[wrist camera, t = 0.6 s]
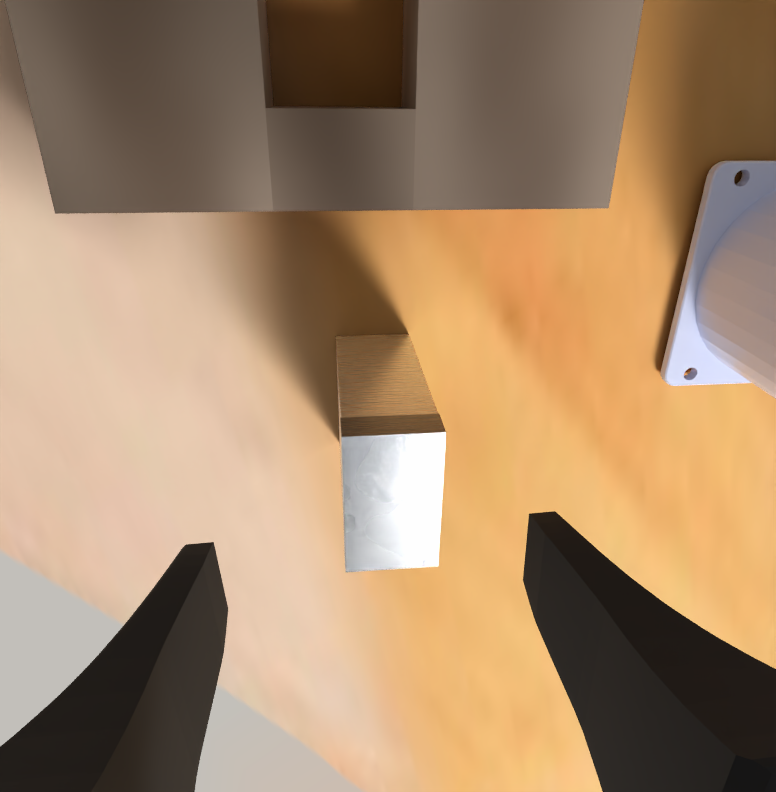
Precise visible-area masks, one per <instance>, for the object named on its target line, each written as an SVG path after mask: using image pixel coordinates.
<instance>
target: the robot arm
mask: <svg viewBox="0 0 776 792" xmlns="http://www.w3.org/2000/svg"><path fill="white" fill-rule="evenodd" d="M740 170H741V171H742V178H741V180H740V181H739V182H738V183H737V184H735V183H734V178H735V176H736V174H737V173H738V172H739V171H740ZM689 368H692V369H691V371H690V373H689V374H687V375H685V376H684V373H685V371H686V370H687V369H689ZM661 377H662V379H663V380H664V381H665V382H666V383H668V384H669V385H672V386H683V385H708V384H734V383H753V384H755V385H756V386H758V387H759V388H761V389H762V390H764V391H765V392H767V393H768V394H770V395H771V396H773V397H774V398H776V161H721V162H718V163H717V164H715V165H714V166H713V167H712V168H711V169H710V170H709V173H708V175H707V178H706V182H705V186H704V191H703V195H702V199H701V203H700V207H699V212H698V216H697V220H696V224H695V229H694V233H693V237H692V241H691V245H690V250H689V254H688V258H687V262H686V267H685V271H684V275H683V279H682V283H681V288H680V292H679V296H678V300H677V305H676V309H675V313H674V317H673V321H672V326H671V330H670V334H669V338H668V343H667V347H666V351H665V355H664V359H663V364H662V368H661ZM523 582H524V585H525V589H526V592H527V595H528V599H529V602H530V606H531V609H532V612H533V615H534V618H535V621H536V624H537V626H538V629H539V631H540V633H541V636H542V638H543V640H544V642H545V645H546V647H547V649H548V652H549V654H550V656H551V658H552V661H553V663H554V665H555V667H556V670H557V672H558V674H559V676H560V679H561V681H562V683H563V685H564V688H565V690H566V692H567V694H568V697H569V699H570V701H571V704H572V706H573V708H574V710H575V713H576V715H577V718H578V720H579V723H580V725H581V728H582V730H583V733H584V736H585V739H586V742H587V745H588V748H589V751H590V754H591V757H592V760H593V763H594V766H595V769H596V772H597V775H598V778H599V781H600V784H601V788H602V791H603V792H776V669H774V668H772V667H770V666H769V665H767V664H765V663H763V662H761V661H759V660H757V659H755V658H753V657H751V656H749V655H748V654H746V653H744V652H742V651H741V650H739V649H737V648H735V647H733V646H732V645H730V644H728V643H726V642H725V641H723V640H721V639H719V638H718V637H716V636H714V635H713V634H711V633H709V632H708V631H706V630H704V629H703V628H701V627H700V626H698V625H697V624H695V623H694V622H692V621H690V620H689V619H687V618H686V617H684V616H683V615H681V614H680V613H678V612H677V611H675V610H674V609H672V608H671V607H669V606H668V605H667V604H665V603H664V602H662V601H661V600H660V599H658V598H657V597H656V596H654V595H653V594H652V593H650V592H649V591H648V590H646V589H645V588H644V587H642V586H641V585H640V584H638V583H637V582H636V581H634V580H633V579H632V578H631V577H629V576H628V575H627V574H626V573H624V572H623V571H622V570H621V569H620V568H618V567H617V566H616V565H615V564H614V563H612V562H611V561H610V560H609V559H608V558H607V557H605V556H604V555H603V554H602V553H601V552H600V551H598V550H597V549H596V548H595V547H594V546H593V545H592V544H591V543H590V542H588V541H587V540H586V539H585V538H584V537H583V536H582V535H581V534H579V533H578V532H577V531H576V530H575V529H574V528H573V527H572V526H571V525H570V524H568V523H567V522H566V521H565V520H564V519H563V518H562V517H561V516H560V515H558V514H557V513H556V512H543V513H532V514H529V522H528V533H527V543H526V554H525V565H524V576H523ZM227 615H228V606H227V602H226V597H225V593H224V588H223V583H222V579H221V574H220V570H219V565H218V560H217V556H216V551H215V547H214V542H211V543H200V544H188V545H185V546H184V547H183V548H182V549H181V551H180V552H179V554H178V555H177V556H176V558H175V559H174V561H173V562H172V563H171V565H170V566H169V568H168V569H167V570H166V572H165V573H164V574H163V576H162V577H161V579H160V580H159V581H158V583H157V584H156V585H155V587H154V588H153V589H152V591H151V592H150V593H149V595H148V596H147V597H146V598H145V600H144V601H143V602H142V603H141V605H140V606H139V607H138V609H137V610H136V611H135V612H134V614H133V615H132V616H131V617H130V619H129V620H128V621H127V622H126V624H125V625H124V626H123V627H122V628H121V630H120V631H119V632H118V633H117V634H116V635H115V636H114V638H113V639H112V640H111V641H110V642H109V643H108V644H107V646H106V647H105V648H104V649H103V650H102V651H101V653H100V654H99V655H98V656H97V657H96V658H95V659H94V660H93V661H92V663H90V665H89V666H88V667H87V668H86V669H85V670H84V671H83V672H82V673H81V674H80V675H79V676H78V677H77V678H76V679H75V680H74V681H73V682H72V683H71V684H70V685H69V686H68V687H67V688H66V689H65V690H64V691H63V692H62V693H61V694H60V695H59V696H58V697H57V698H56V699H55V700H54V701H52V702H51V703H50V704H49V705H48V706H47V707H46V708H45V709H43V711H41V712H40V713H39V714H38V715H37V716H36V717H34V719H32V720H31V721H30V722H29V723H28V724H27V725H25V726H24V727H23V728H22V729H21V730H20V731H19V732H17V733H16V734H15V735H14V736H13V737H12V738H10V739H9V740H8V741H7V742H6V743H4V744H3V745H2V746H1V747H0V792H194V790H195V783H196V776H197V771H198V765H199V760H200V755H201V750H202V746H203V742H204V737H205V733H206V729H207V724H208V720H209V715H210V711H211V707H212V703H213V698H214V694H215V690H216V685H217V681H218V676H219V672H220V667H221V663H222V658H223V653H224V645H225V636H226V626H227Z"/></svg>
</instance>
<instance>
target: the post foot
mask: <svg viewBox="0 0 776 792" xmlns="http://www.w3.org/2000/svg"><path fill="white" fill-rule="evenodd" d="M643 3H644V0H403V51H402V107H347V106H274V104H273V90H272V76H271V62H270V48H269V34H268V20H267V6H266V0H5V4H6V9H7V13H8V17H9V21H10V25H11V30H12V34H13V38H14V42H15V46H16V51H17V55H18V59H19V63H20V67H21V72H22V76H23V80H24V84H25V88H26V93H27V97H28V101H29V105H30V109H31V114H32V118H33V122H34V126H35V130H36V135H37V139H38V143H39V147H40V151H41V156H42V160H43V164H44V168H45V173H46V177H47V181H48V185H49V189H50V194H51V198H52V202H53V206H54V210H55V213H151V212H258V211H364V210H471V209H578V208H609V203H610V197H611V191H612V185H613V179H614V173H615V168H616V162H617V156H618V150H619V144H620V138H621V132H622V126H623V120H624V115H625V109H626V103H627V97H628V91H629V85H630V79H631V73H632V68H633V62H634V56H635V50H636V44H637V38H638V32H639V26H640V21H641V15H642V9H643Z"/></svg>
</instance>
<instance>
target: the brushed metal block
mask: <svg viewBox="0 0 776 792" xmlns="http://www.w3.org/2000/svg"><path fill="white" fill-rule="evenodd" d="M336 355H337V385H338V414H339V444H340V462H341V480H342V499H343V517H344V548H345V567H346V572H356V571H372V570H387V569H402V568H417V567H432V566H438V557H439V540H440V524H441V507H442V491H443V474H444V458H445V441H446V431H445V428H444V426H443V423H442V420H441V417H440V415H439V414H438V412H437V409H436V407H435V404H434V401H433V398H432V396H431V393H430V390H429V388H428V385H427V382H426V379H425V377H424V374H423V371H422V369H421V366H420V363H419V360H418V358H417V355H416V352H415V349H414V347H413V344H412V341H411V339H410V336H409V334H389V335H355V336H336Z"/></svg>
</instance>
